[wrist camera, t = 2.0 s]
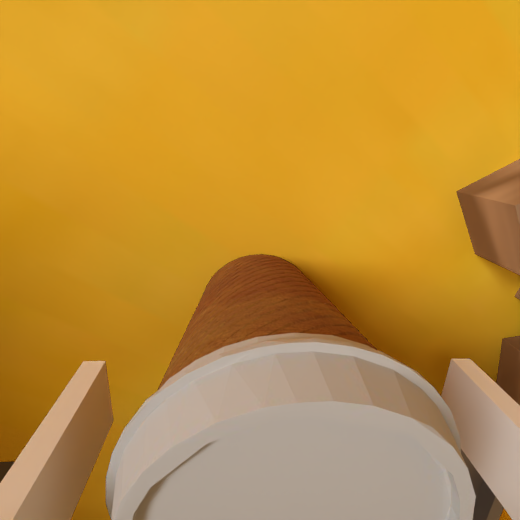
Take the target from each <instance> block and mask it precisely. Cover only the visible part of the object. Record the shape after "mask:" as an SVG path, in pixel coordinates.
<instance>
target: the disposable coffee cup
mask: <svg viewBox="0 0 520 520" xmlns="http://www.w3.org/2000/svg"><path fill="white" fill-rule="evenodd" d="M475 499H476V496H475V492H474V489H473V485H472V482H471V478H470V474H469V471H468V468H467V466H466V464H465V461H464V459H463V457H462V455H461V437H460V434H459V431H458V429H457V426H456V423H455V420H454V418H453V415H452V412H451V410H450V408H449V407H448V406H447V404H446V403H445V402H444V400H443V399H442V397H441V396H440V395H439V393H438V392H437V391H436V389H435V388H434V387H433V386H432V385H431V384H430V383H429V382H428V381H427V380H426V379H425V378H424V377H423V376H421V375H420V374H419V373H418V372H417V371H416V370H414V369H412V368H410V367H408V366H407V365H405V364H403V363H401V362H400V361H398V360H396V359H394V358H392V357H391V356H389V355H387V354H385V353H383V352H381V351H378V350H377V349H376V348H375V347H374V346H373V345H372V344H370V343H369V342H368V340H367V339H366V338H365V337H364V336H363V335H362V334H361V333H359V330H357V329H356V328H355V327H354V326H353V325H352V324H351V322H350V321H348V320H347V319H346V318H345V317H344V315H343V314H342V313H340V312H339V311H338V309H337V308H336V307H335V306H334V305H333V304H332V303H331V302H330V301H329V300H328V299H327V298H326V297H325V295H323V294H322V293H321V292H320V290H318V289H317V288H316V286H315V285H313V284H312V282H311V281H309V279H307V278H306V277H305V275H303V273H302V272H301V271H300V270H299V269H298V268H297V267H295V266H294V265H293V264H291V263H289V262H287V261H286V260H284V259H282V258H279V257H276V256H271V255H263V254H259V255H248V256H245V257H241V258H238V259H236V260H233V261H231V262H229V263H228V264H226V265H225V266H224V267H222V268H221V269H220V270H218V271H217V272H216V273H215V275H214V276H213V277H212V278H211V280H210V281H209V283H208V285H207V286H206V289H205V291H204V293H203V296H202V298H201V300H200V302H199V304H198V306H197V308H196V310H195V312H194V314H193V317H192V318H191V320H190V323H189V325H188V327H187V329H186V331H185V333H184V336H183V338H182V340H181V342H180V344H179V346H178V348H177V350H176V352H175V354H174V356H173V358H172V361H171V363H170V365H169V367H168V369H167V371H166V373H165V375H164V378H163V380H162V382H161V384H160V386H159V388H158V391H157V392H156V393H154V394H153V395H152V396H150V397H149V398H148V399H146V401H145V402H144V403H143V405H142V406H141V407H140V409H139V410H138V411H137V413H136V414H135V415H134V416H133V418H132V419H131V420H130V422H129V423H128V424H127V426H126V427H125V428H124V430H123V432H122V434H121V436H120V438H119V440H118V442H117V444H116V446H115V448H114V450H113V452H112V456H111V460H110V463H109V467H108V471H107V475H106V506H107V509H108V512H109V515H110V518H111V520H473V513H474V506H475Z"/></svg>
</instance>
